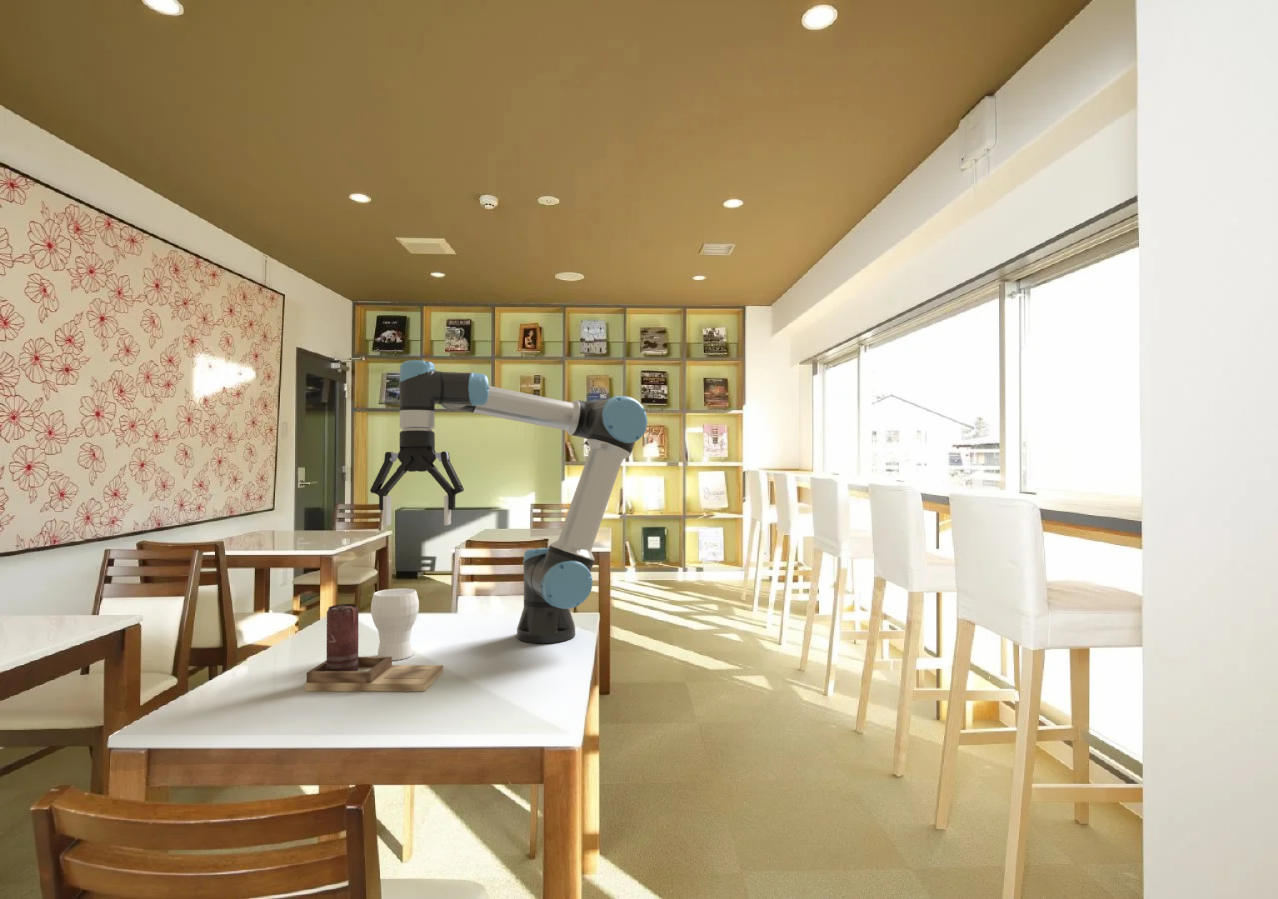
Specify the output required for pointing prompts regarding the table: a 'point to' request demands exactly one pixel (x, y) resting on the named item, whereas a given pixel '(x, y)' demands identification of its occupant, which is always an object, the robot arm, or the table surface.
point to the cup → (395, 621)
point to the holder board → (373, 676)
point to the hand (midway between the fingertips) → (417, 525)
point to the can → (342, 638)
